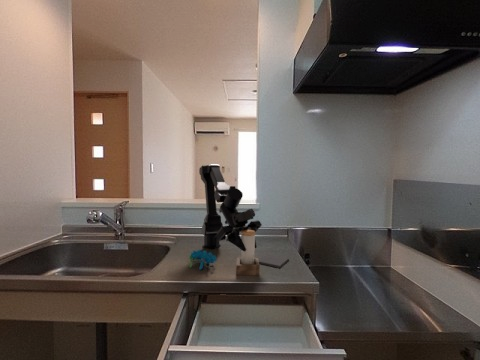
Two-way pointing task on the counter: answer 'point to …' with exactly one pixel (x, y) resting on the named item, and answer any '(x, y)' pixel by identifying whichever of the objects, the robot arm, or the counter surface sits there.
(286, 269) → the counter surface
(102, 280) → the counter surface
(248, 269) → the socket block
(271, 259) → the mat
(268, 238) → the counter surface
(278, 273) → the counter surface
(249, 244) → the plug
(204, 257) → the blue lumpy piece
